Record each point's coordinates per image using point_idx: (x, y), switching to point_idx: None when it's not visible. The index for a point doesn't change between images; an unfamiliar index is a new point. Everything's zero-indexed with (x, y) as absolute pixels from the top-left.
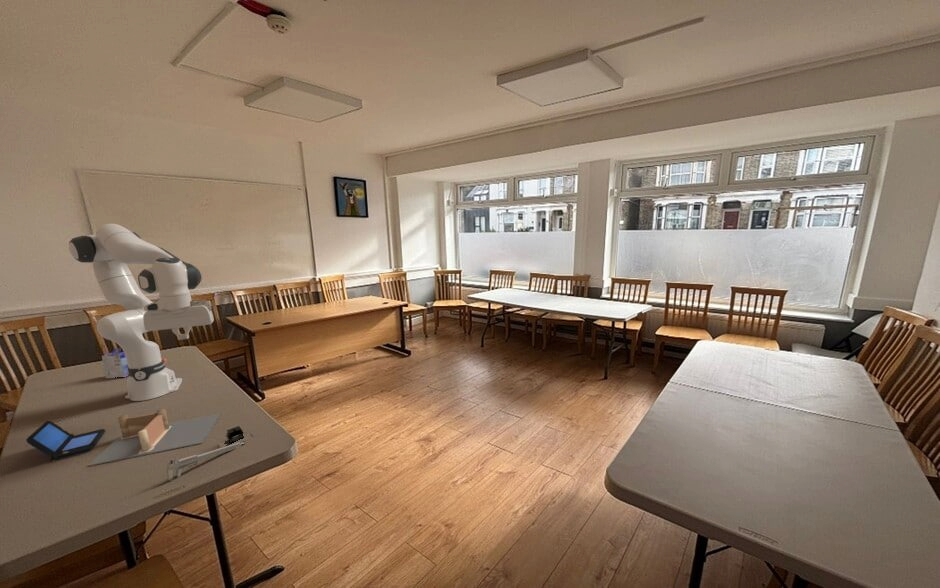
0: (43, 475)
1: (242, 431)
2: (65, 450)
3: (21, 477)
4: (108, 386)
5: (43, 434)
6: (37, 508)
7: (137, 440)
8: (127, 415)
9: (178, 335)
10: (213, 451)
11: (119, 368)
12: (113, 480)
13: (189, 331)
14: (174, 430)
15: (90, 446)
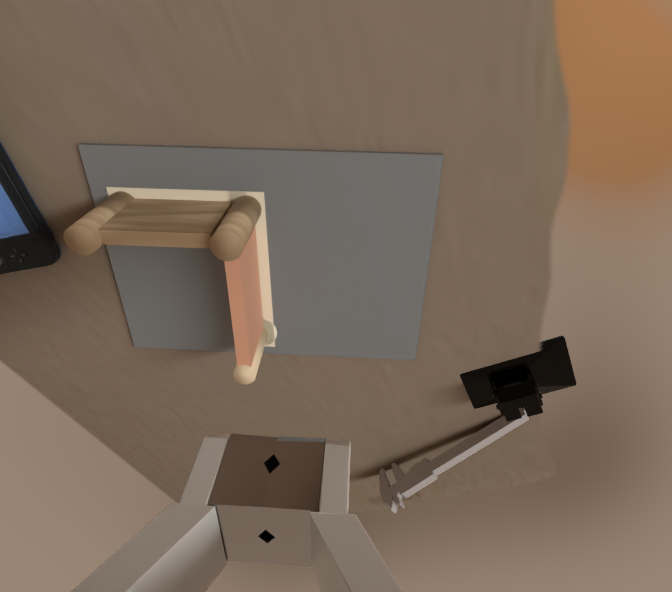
0: (40, 338)
1: (541, 404)
2: None
3: None
4: None
5: None
6: (155, 452)
7: (189, 256)
8: (92, 236)
9: (217, 559)
10: (467, 455)
11: None
12: (252, 425)
13: (377, 556)
14: (291, 236)
15: (48, 250)
